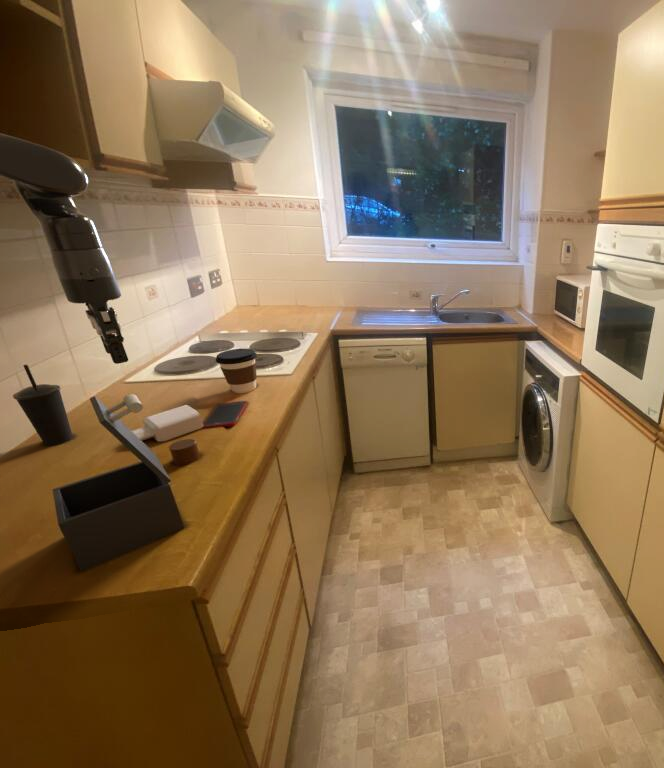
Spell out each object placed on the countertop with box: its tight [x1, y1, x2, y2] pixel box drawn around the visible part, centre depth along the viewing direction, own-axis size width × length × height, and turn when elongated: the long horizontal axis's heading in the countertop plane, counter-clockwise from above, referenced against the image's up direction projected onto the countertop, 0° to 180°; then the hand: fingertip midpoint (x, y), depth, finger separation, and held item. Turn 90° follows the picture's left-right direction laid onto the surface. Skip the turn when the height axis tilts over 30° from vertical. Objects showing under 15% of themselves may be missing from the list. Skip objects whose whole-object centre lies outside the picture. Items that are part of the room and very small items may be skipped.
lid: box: [89, 393, 172, 484], centre depth 74 cm, size 14×13×5 cm
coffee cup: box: [215, 348, 258, 394], centre depth 134 cm, size 11×11×12 cm
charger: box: [131, 404, 204, 443], centre depth 107 cm, size 5×9×15 cm
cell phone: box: [202, 400, 248, 429], centre depth 118 cm, size 8×15×1 cm, turn 18°
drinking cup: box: [12, 364, 74, 447], centre depth 101 cm, size 8×8×20 cm
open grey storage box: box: [52, 460, 185, 572], centre depth 75 cm, size 14×13×10 cm
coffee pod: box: [168, 438, 201, 466], centre depth 97 cm, size 5×5×4 cm
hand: (117, 357), depth 86 cm, fingers open, 8 cm apart
